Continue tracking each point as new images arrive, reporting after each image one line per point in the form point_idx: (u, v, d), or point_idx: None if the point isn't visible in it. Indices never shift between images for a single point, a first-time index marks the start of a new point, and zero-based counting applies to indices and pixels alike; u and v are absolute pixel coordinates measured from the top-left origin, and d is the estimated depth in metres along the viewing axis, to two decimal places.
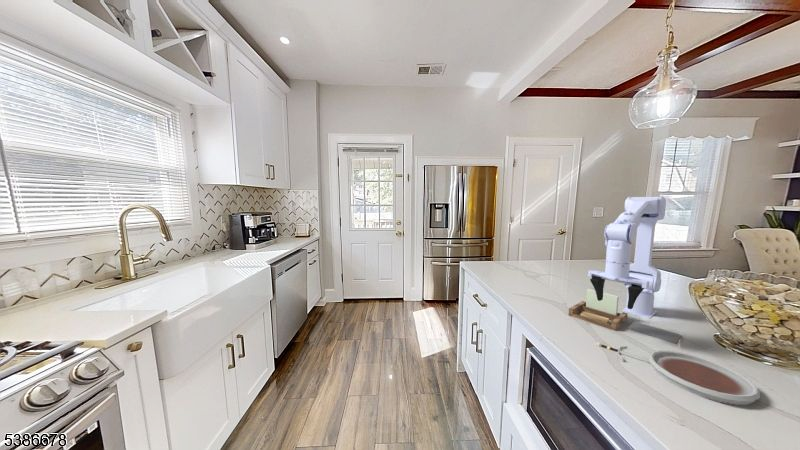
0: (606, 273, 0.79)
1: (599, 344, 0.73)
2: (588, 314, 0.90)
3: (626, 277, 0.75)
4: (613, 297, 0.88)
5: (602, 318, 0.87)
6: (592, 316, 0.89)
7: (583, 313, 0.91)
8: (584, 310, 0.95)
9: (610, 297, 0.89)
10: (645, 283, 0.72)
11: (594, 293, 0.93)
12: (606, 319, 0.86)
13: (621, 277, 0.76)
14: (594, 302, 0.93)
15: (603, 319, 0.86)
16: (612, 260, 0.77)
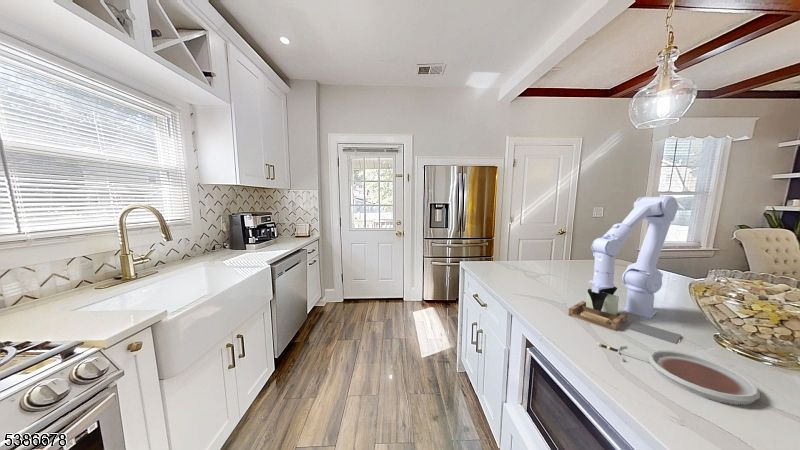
0: None
1: (599, 344, 0.73)
2: (588, 314, 0.91)
3: (596, 283, 0.91)
4: (613, 297, 0.88)
5: (602, 318, 0.87)
6: (592, 316, 0.89)
7: (583, 313, 0.92)
8: (584, 310, 0.95)
9: (610, 297, 0.89)
10: None
11: None
12: (606, 319, 0.86)
13: (594, 281, 0.92)
14: None
15: (603, 319, 0.86)
16: (596, 269, 0.91)
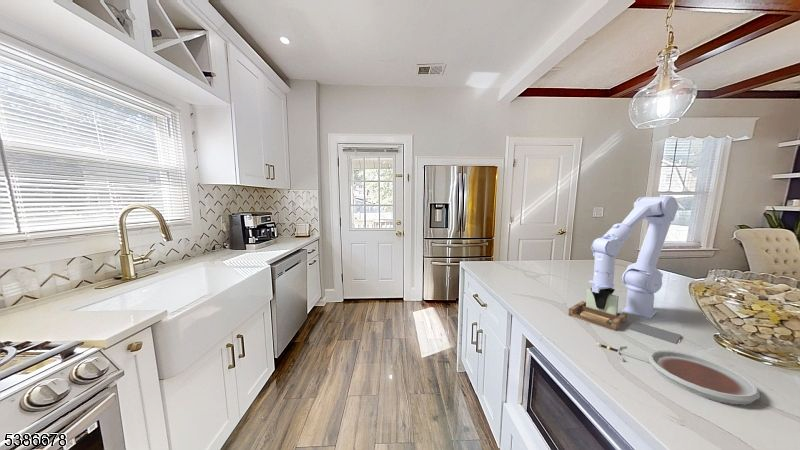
0: None
1: (599, 344, 0.73)
2: (588, 314, 0.90)
3: (596, 283, 0.91)
4: (613, 297, 0.88)
5: (602, 318, 0.87)
6: (592, 316, 0.89)
7: (583, 313, 0.91)
8: (584, 310, 0.95)
9: (610, 297, 0.89)
10: None
11: None
12: (606, 319, 0.86)
13: (594, 281, 0.92)
14: (594, 302, 0.93)
15: (603, 319, 0.86)
16: (596, 269, 0.91)
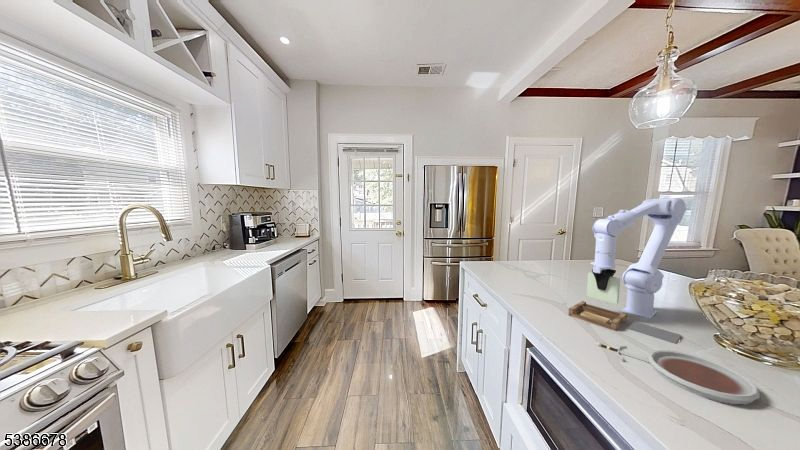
0: None
1: (599, 344, 0.73)
2: (589, 314, 0.91)
3: (598, 264, 0.90)
4: (614, 279, 0.88)
5: (602, 318, 0.87)
6: (592, 316, 0.89)
7: (584, 313, 0.92)
8: (584, 310, 0.95)
9: (611, 279, 0.88)
10: None
11: None
12: (606, 319, 0.86)
13: (595, 263, 0.91)
14: (596, 285, 0.92)
15: (603, 319, 0.86)
16: (597, 250, 0.90)
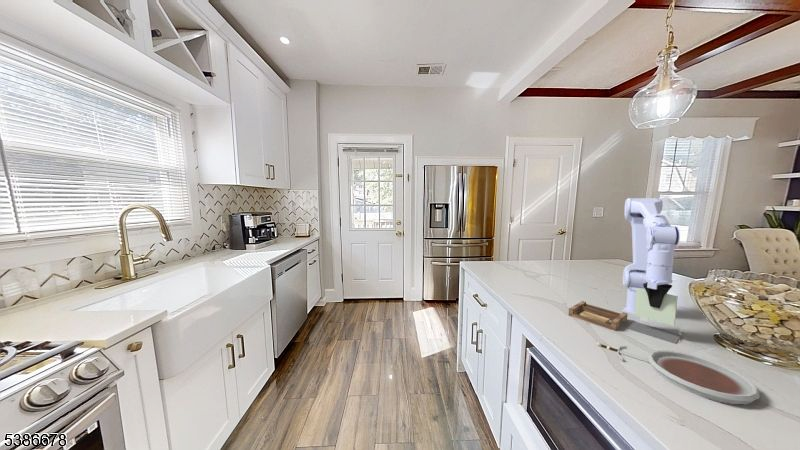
0: None
1: (599, 344, 0.73)
2: (588, 314, 0.91)
3: (651, 278, 0.78)
4: (671, 297, 0.76)
5: (602, 318, 0.87)
6: (592, 316, 0.89)
7: (583, 313, 0.92)
8: (584, 310, 0.95)
9: (667, 297, 0.77)
10: (647, 282, 0.76)
11: (646, 293, 0.81)
12: (606, 319, 0.86)
13: (647, 276, 0.79)
14: (646, 303, 0.81)
15: (602, 319, 0.86)
16: (660, 263, 0.76)
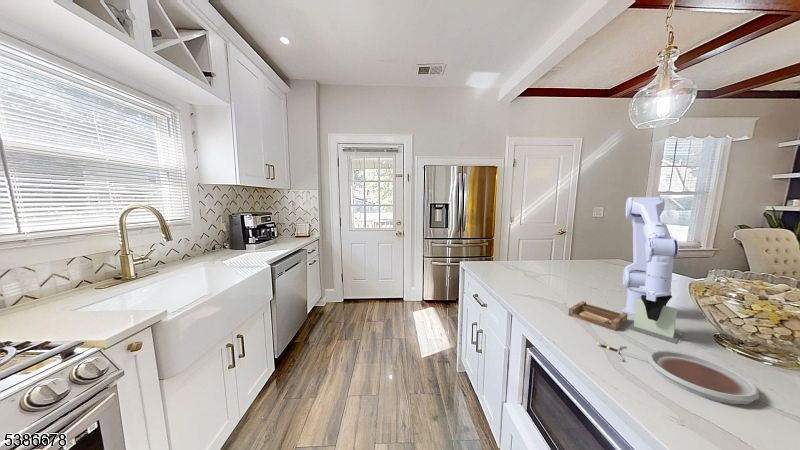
0: None
1: (599, 344, 0.73)
2: (588, 314, 0.91)
3: (650, 289, 0.79)
4: (670, 309, 0.76)
5: (601, 319, 0.87)
6: (591, 316, 0.89)
7: (583, 313, 0.92)
8: (584, 310, 0.95)
9: (666, 309, 0.77)
10: (646, 294, 0.76)
11: None
12: (605, 320, 0.86)
13: (646, 288, 0.80)
14: (646, 315, 0.81)
15: (602, 320, 0.86)
16: (659, 275, 0.77)
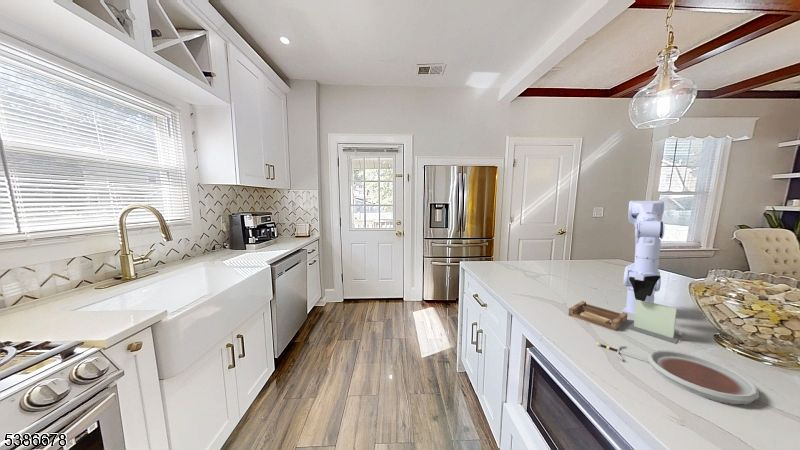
0: None
1: (598, 344, 0.73)
2: (589, 314, 0.91)
3: (639, 270, 0.82)
4: (670, 309, 0.76)
5: (602, 318, 0.87)
6: (592, 316, 0.89)
7: (584, 313, 0.92)
8: (584, 310, 0.95)
9: (666, 309, 0.77)
10: (635, 274, 0.79)
11: (645, 304, 0.81)
12: (606, 320, 0.86)
13: (635, 269, 0.83)
14: (646, 315, 0.81)
15: (602, 319, 0.86)
16: (645, 256, 0.80)
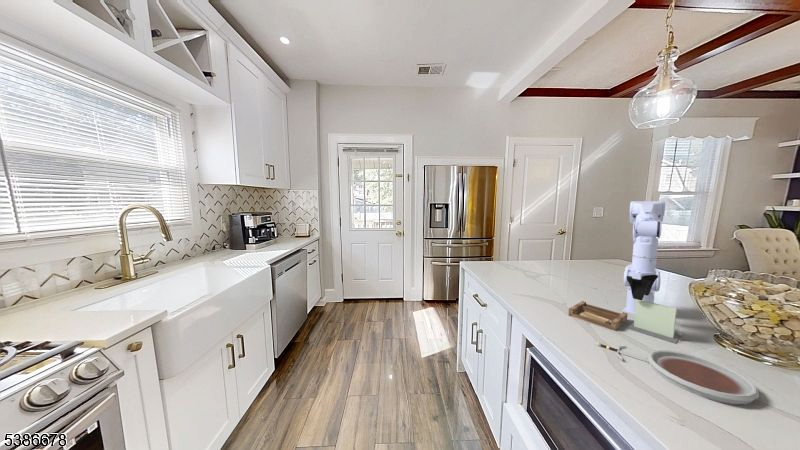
0: None
1: (598, 344, 0.73)
2: (589, 314, 0.90)
3: (636, 269, 0.82)
4: (670, 309, 0.76)
5: (601, 319, 0.87)
6: (592, 316, 0.89)
7: (584, 313, 0.92)
8: (584, 310, 0.95)
9: (666, 309, 0.77)
10: (632, 273, 0.80)
11: (645, 304, 0.81)
12: (605, 320, 0.86)
13: (633, 268, 0.84)
14: (646, 315, 0.81)
15: (602, 320, 0.86)
16: (642, 255, 0.81)
